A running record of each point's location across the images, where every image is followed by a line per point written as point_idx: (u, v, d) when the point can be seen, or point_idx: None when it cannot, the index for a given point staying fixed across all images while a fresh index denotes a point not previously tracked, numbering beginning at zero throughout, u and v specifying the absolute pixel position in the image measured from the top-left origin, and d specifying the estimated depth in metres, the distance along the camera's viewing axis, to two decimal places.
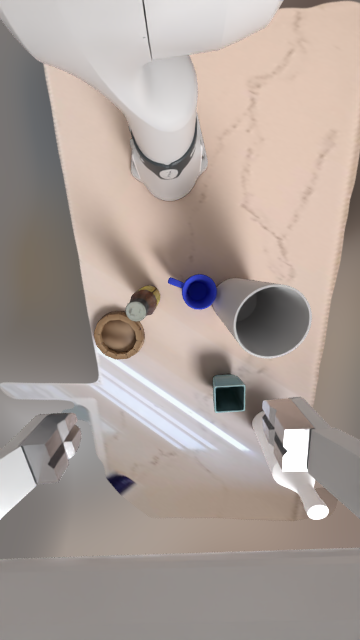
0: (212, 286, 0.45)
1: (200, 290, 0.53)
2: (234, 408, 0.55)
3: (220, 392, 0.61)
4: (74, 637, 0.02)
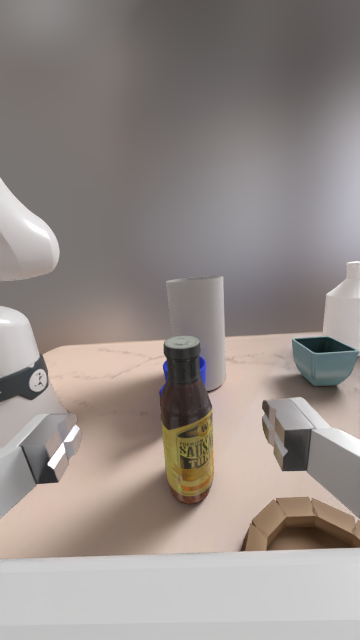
0: None
1: None
2: (335, 343, 0.42)
3: None
4: (74, 637, 0.02)
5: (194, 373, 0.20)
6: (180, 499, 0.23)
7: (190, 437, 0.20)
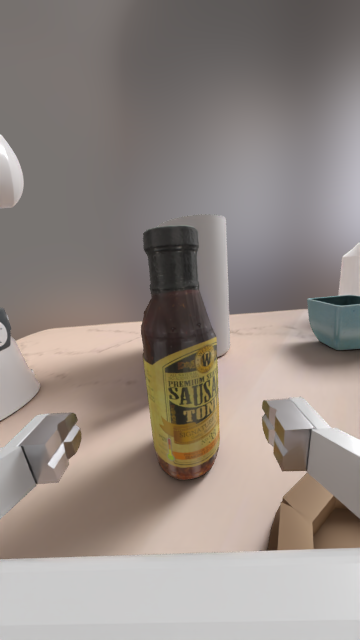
0: None
1: None
2: None
3: None
4: (74, 637, 0.02)
5: (189, 275, 0.13)
6: (172, 474, 0.16)
7: (184, 372, 0.13)
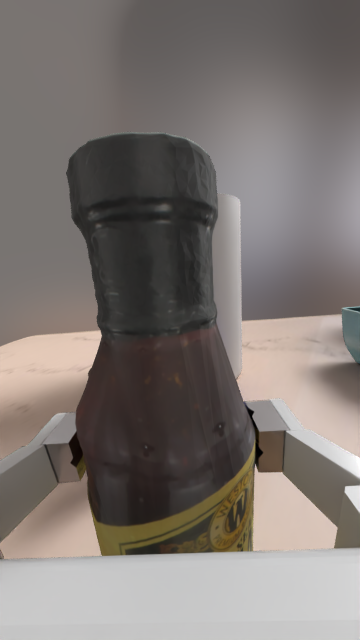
0: None
1: None
2: None
3: None
4: (74, 637, 0.02)
5: (194, 291, 0.05)
6: None
7: None
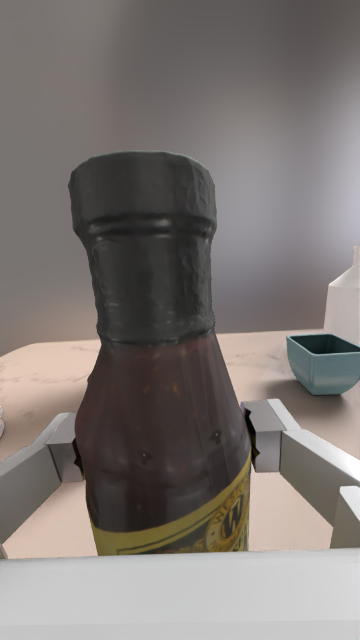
0: None
1: None
2: (339, 342, 0.34)
3: None
4: (74, 637, 0.02)
5: (192, 302, 0.05)
6: None
7: None
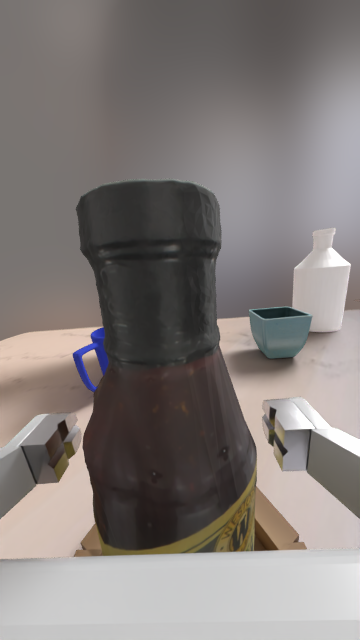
0: None
1: None
2: (293, 313, 0.39)
3: None
4: (74, 637, 0.02)
5: (199, 321, 0.05)
6: None
7: None
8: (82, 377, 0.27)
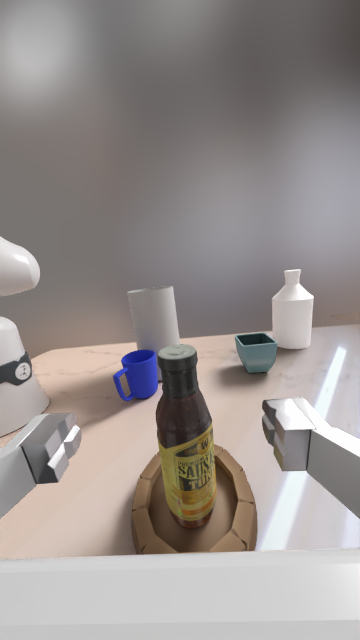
0: (138, 355, 0.49)
1: None
2: (266, 338, 0.52)
3: None
4: (74, 637, 0.02)
5: (191, 385, 0.18)
6: (181, 524, 0.21)
7: (189, 456, 0.18)
8: (119, 391, 0.40)
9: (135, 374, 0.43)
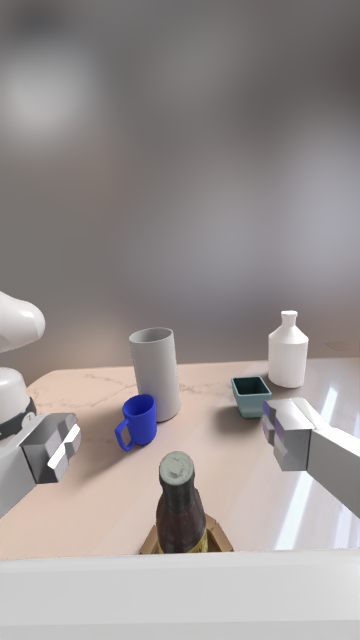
0: (138, 399, 0.52)
1: None
2: (261, 383, 0.55)
3: None
4: (74, 637, 0.02)
5: (188, 501, 0.21)
6: None
7: None
8: (120, 443, 0.43)
9: (135, 425, 0.45)
